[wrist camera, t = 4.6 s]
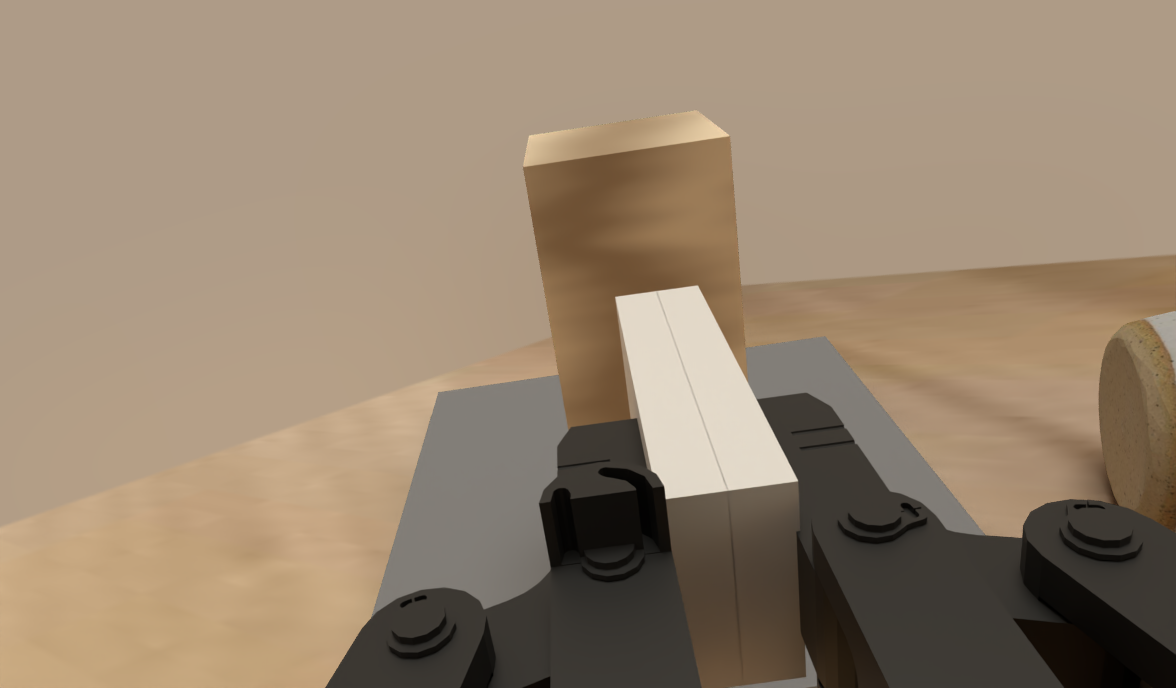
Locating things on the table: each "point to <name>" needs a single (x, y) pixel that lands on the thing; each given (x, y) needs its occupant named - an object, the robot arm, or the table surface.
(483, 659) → the robot arm
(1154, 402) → the ceramic mug
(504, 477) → the felt mat
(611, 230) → the beech block
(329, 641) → the table surface
